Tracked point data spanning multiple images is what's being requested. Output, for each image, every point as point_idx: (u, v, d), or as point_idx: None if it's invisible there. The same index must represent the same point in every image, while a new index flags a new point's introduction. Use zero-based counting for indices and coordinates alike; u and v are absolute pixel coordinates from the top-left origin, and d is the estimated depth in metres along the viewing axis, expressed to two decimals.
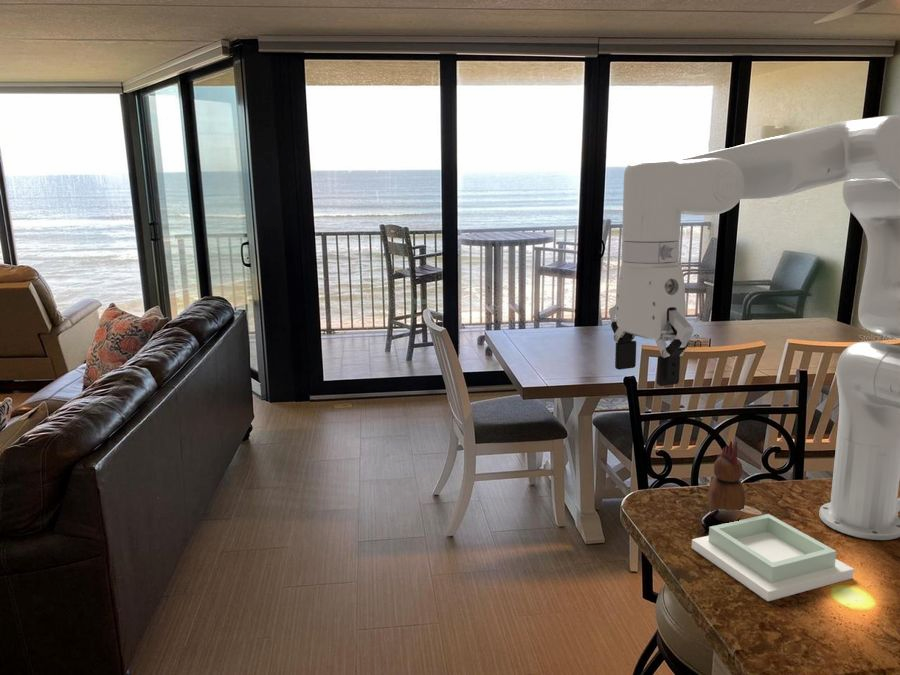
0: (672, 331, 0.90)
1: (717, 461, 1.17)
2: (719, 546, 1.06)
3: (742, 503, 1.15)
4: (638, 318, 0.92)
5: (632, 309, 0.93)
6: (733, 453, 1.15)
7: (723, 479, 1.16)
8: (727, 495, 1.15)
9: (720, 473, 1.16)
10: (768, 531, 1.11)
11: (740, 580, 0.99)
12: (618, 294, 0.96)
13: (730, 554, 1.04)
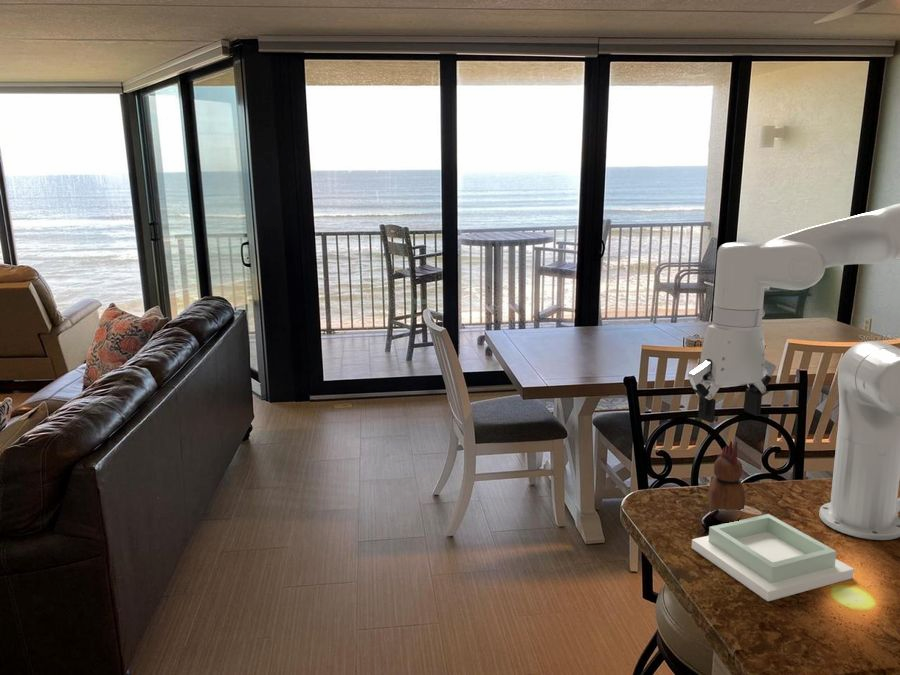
0: None
1: (717, 461, 1.17)
2: (719, 546, 1.06)
3: (742, 503, 1.15)
4: (748, 370, 1.12)
5: (743, 364, 1.11)
6: (733, 453, 1.15)
7: (723, 479, 1.16)
8: (727, 495, 1.15)
9: (720, 473, 1.16)
10: (768, 531, 1.11)
11: (740, 580, 0.99)
12: (723, 357, 1.10)
13: (730, 554, 1.04)
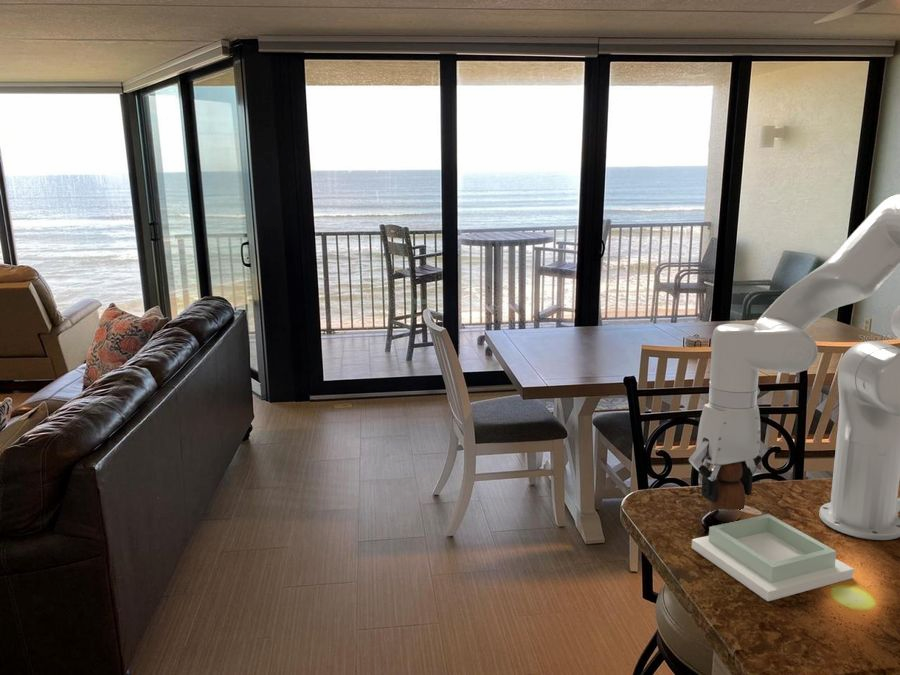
0: None
1: None
2: (719, 546, 1.06)
3: (742, 503, 1.15)
4: (744, 448, 1.14)
5: (739, 443, 1.14)
6: None
7: (723, 479, 1.16)
8: (727, 495, 1.15)
9: (720, 473, 1.16)
10: (768, 531, 1.11)
11: (740, 580, 0.99)
12: (720, 437, 1.12)
13: (730, 554, 1.04)
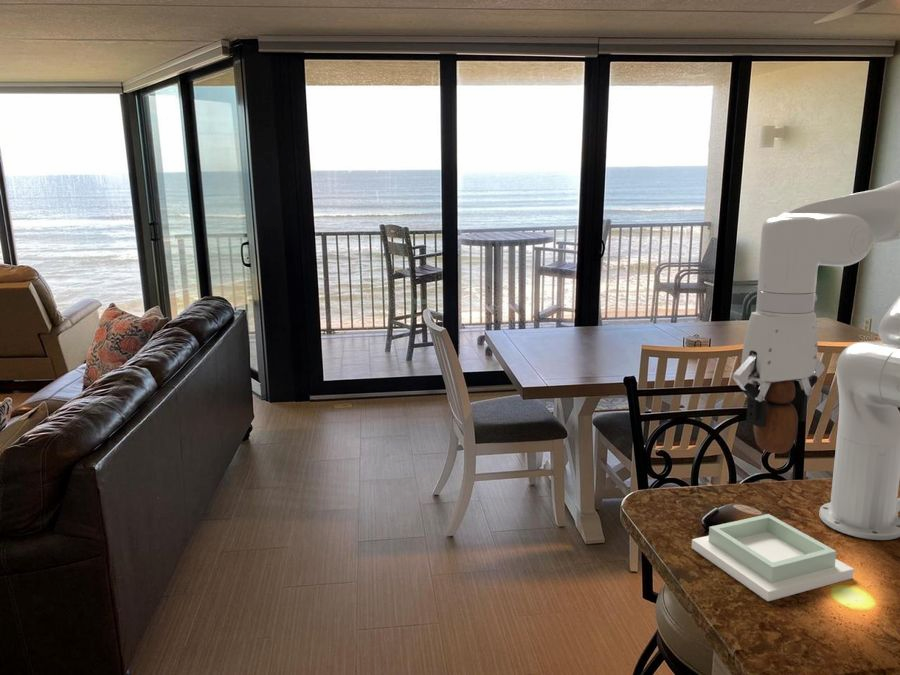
0: None
1: None
2: (719, 546, 1.06)
3: (795, 428, 0.98)
4: (799, 363, 0.97)
5: (793, 357, 0.97)
6: None
7: (772, 400, 0.99)
8: (778, 418, 0.98)
9: (769, 393, 0.99)
10: (768, 531, 1.11)
11: (740, 580, 0.99)
12: (770, 348, 0.95)
13: (730, 554, 1.04)
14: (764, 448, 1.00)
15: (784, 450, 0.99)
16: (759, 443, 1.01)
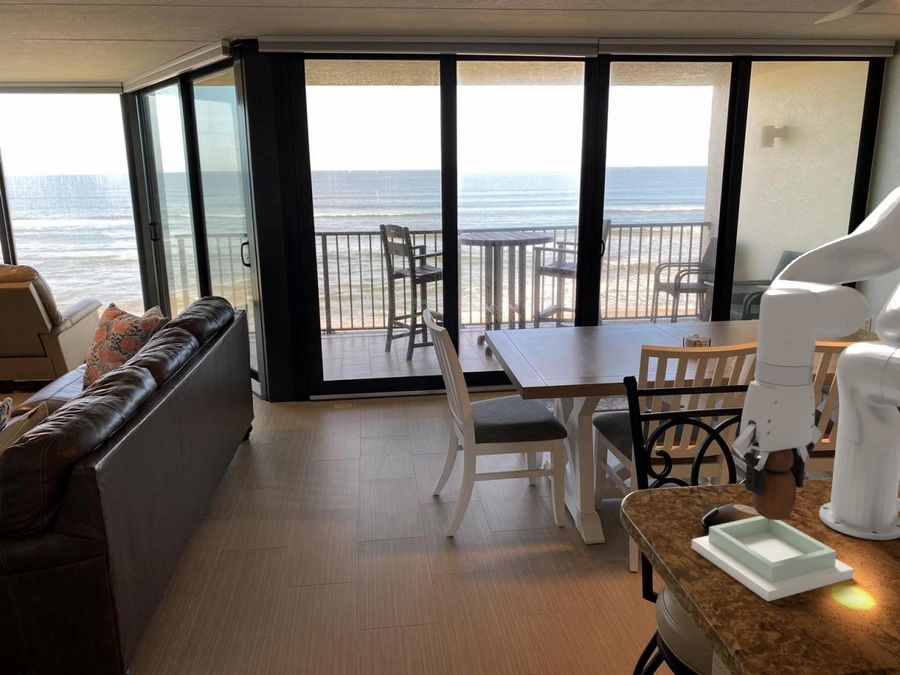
0: None
1: None
2: (719, 546, 1.06)
3: (793, 496, 0.99)
4: (797, 432, 0.98)
5: (791, 427, 0.98)
6: None
7: (771, 468, 1.00)
8: (776, 486, 0.99)
9: (768, 461, 1.00)
10: (768, 531, 1.11)
11: (740, 580, 0.99)
12: (769, 419, 0.96)
13: (730, 554, 1.04)
14: (763, 515, 1.01)
15: (782, 517, 1.00)
16: (758, 509, 1.02)
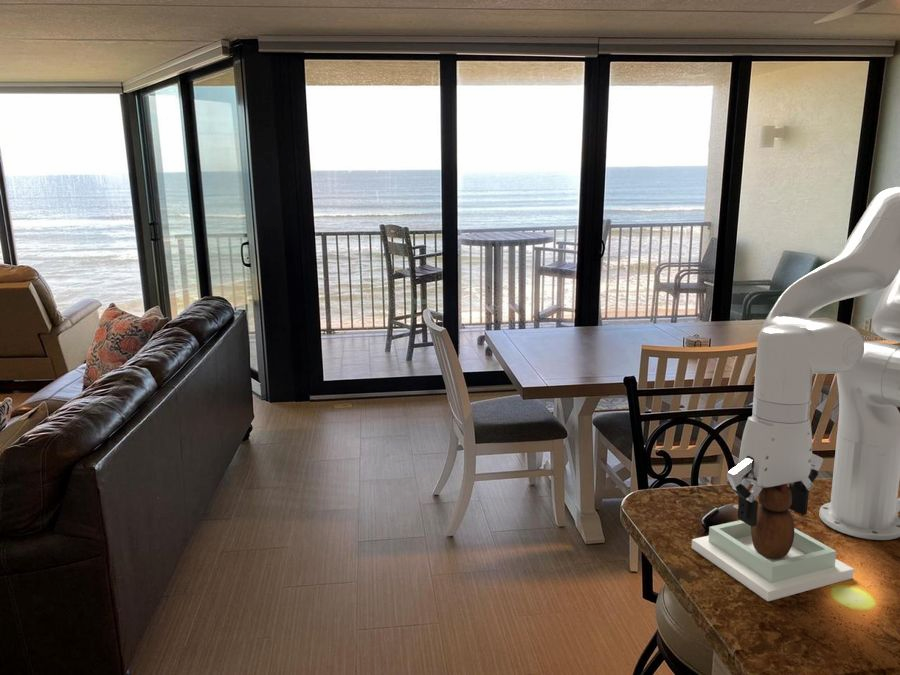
0: None
1: None
2: (719, 546, 1.06)
3: (792, 536, 1.01)
4: (794, 468, 1.00)
5: (788, 462, 0.99)
6: None
7: (770, 508, 1.01)
8: (775, 526, 1.00)
9: (767, 501, 1.01)
10: None
11: (740, 580, 0.99)
12: (767, 455, 0.98)
13: (730, 554, 1.04)
14: (761, 553, 1.03)
15: (781, 556, 1.02)
16: (756, 548, 1.03)
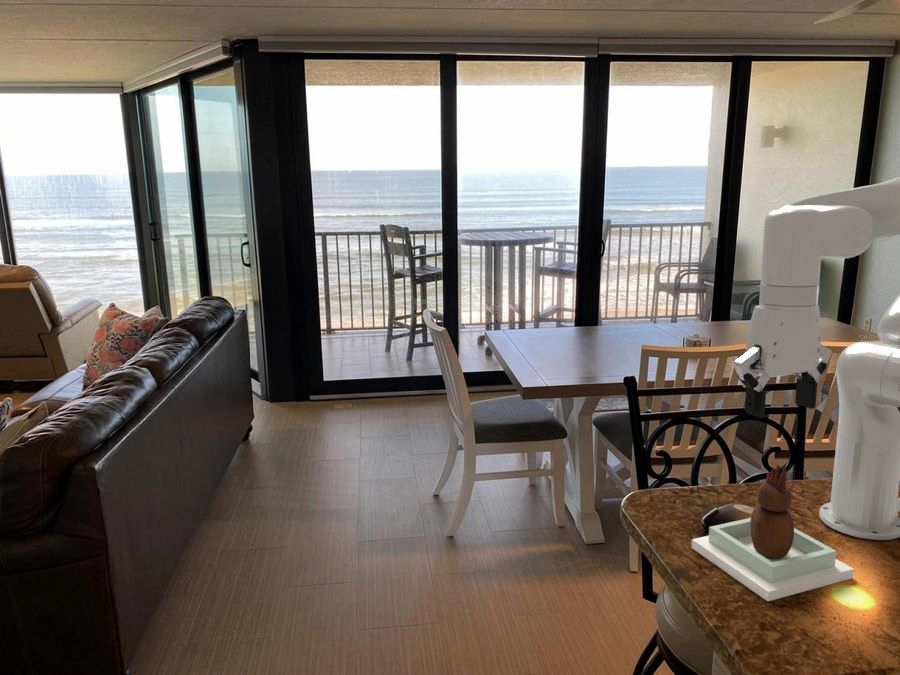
0: None
1: (762, 488, 1.02)
2: (719, 546, 1.06)
3: (791, 536, 1.01)
4: (803, 356, 0.97)
5: (797, 350, 0.96)
6: (781, 479, 1.00)
7: (769, 509, 1.01)
8: (775, 527, 1.00)
9: (766, 501, 1.01)
10: None
11: (740, 580, 0.99)
12: (775, 341, 0.95)
13: (730, 554, 1.04)
14: (761, 553, 1.03)
15: (781, 556, 1.02)
16: (756, 548, 1.03)
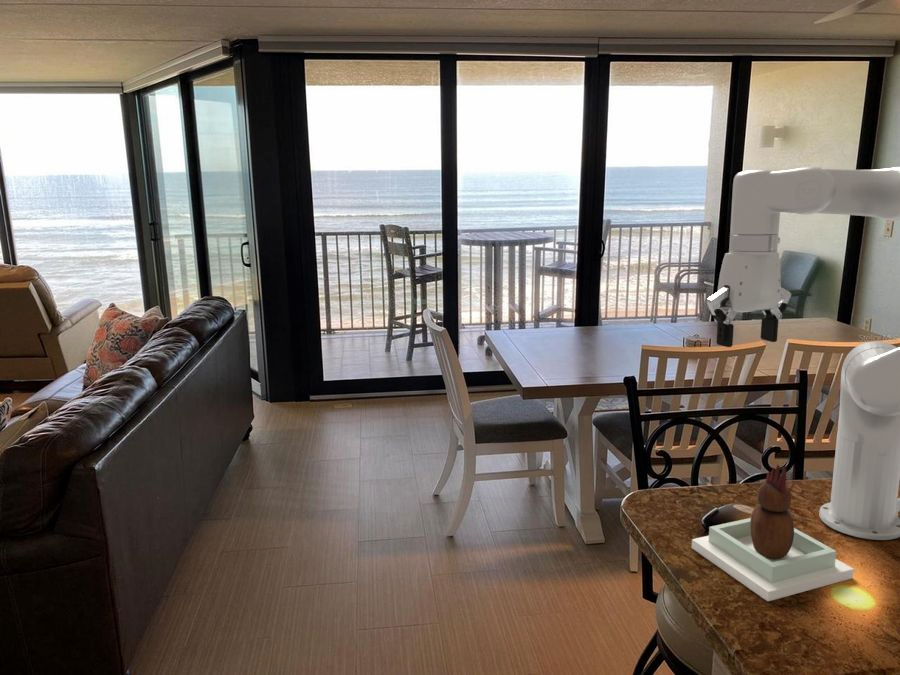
0: None
1: (762, 488, 1.02)
2: (719, 546, 1.06)
3: (791, 536, 1.01)
4: (765, 295, 1.15)
5: (760, 290, 1.14)
6: (781, 479, 1.00)
7: (769, 509, 1.01)
8: (775, 527, 1.00)
9: (766, 501, 1.01)
10: None
11: (740, 580, 0.99)
12: (741, 281, 1.13)
13: (730, 554, 1.04)
14: (761, 553, 1.03)
15: (781, 556, 1.02)
16: (756, 548, 1.03)
